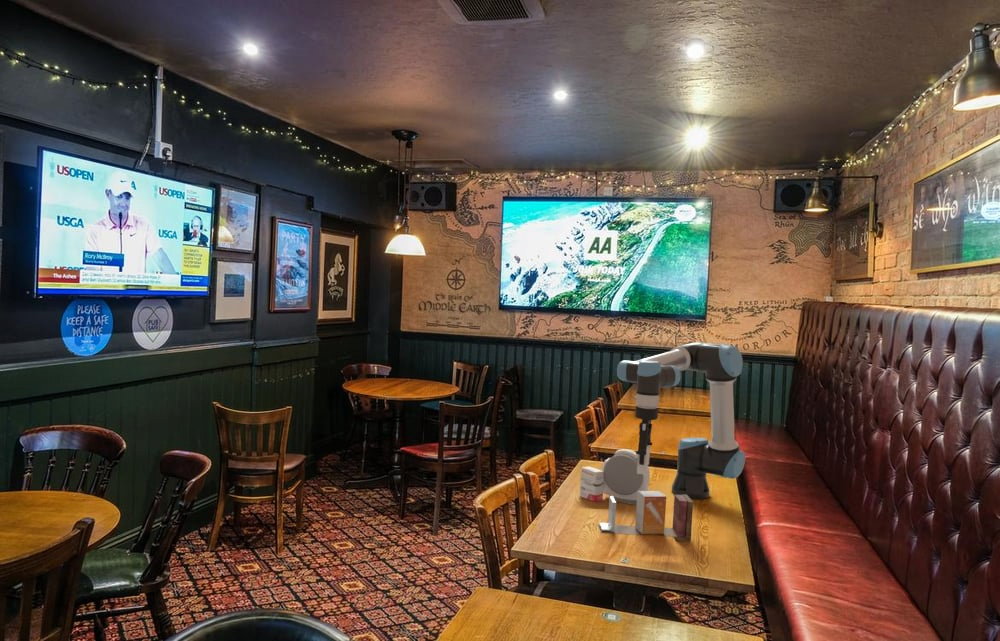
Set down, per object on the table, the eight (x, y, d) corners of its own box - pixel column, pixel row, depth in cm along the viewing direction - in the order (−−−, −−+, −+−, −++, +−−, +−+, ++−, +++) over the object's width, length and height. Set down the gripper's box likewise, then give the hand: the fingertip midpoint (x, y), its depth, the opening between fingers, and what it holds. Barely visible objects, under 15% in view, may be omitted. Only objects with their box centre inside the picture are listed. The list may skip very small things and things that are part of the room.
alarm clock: (648, 502, 257) (651, 451, 256) (643, 508, 249) (646, 456, 248) (605, 493, 265) (607, 444, 264) (598, 499, 257) (601, 448, 256)
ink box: (603, 500, 257) (604, 470, 256) (594, 502, 254) (595, 472, 253) (587, 494, 263) (589, 465, 263) (578, 496, 260) (580, 467, 260)
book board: (684, 532, 225) (686, 494, 224) (690, 541, 217) (693, 502, 216) (597, 528, 225) (599, 490, 225) (600, 537, 217) (602, 497, 217)
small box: (642, 534, 217) (644, 496, 217) (634, 527, 223) (636, 490, 223) (664, 534, 219) (666, 496, 218) (656, 527, 225) (658, 490, 224)
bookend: (611, 524, 225) (613, 496, 224) (614, 532, 218) (616, 502, 217) (599, 523, 225) (600, 495, 224) (602, 531, 218) (603, 502, 217)
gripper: (639, 400, 232) (635, 459, 233) (631, 411, 208) (627, 476, 209) (660, 402, 230) (657, 461, 231) (655, 413, 206) (651, 479, 207)
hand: (643, 469), depth 220 cm, fingers open, 13 cm apart
